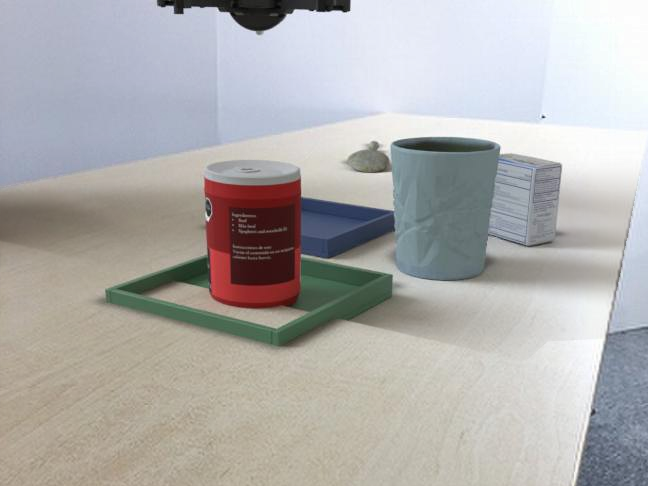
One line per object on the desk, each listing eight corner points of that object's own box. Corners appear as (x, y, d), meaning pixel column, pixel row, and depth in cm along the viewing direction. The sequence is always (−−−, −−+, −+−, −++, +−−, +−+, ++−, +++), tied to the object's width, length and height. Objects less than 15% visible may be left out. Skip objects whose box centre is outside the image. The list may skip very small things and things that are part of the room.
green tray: (106, 312, 70) (104, 289, 69) (237, 263, 83) (236, 244, 83) (278, 358, 61) (278, 332, 61) (392, 296, 75) (393, 274, 74)
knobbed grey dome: (344, 175, 131) (387, 179, 131) (346, 153, 130) (389, 157, 129) (356, 148, 151) (393, 151, 151) (357, 129, 150) (394, 132, 149)
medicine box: (555, 242, 93) (565, 162, 90) (527, 247, 91) (535, 166, 88) (504, 227, 100) (511, 152, 96) (476, 231, 97) (482, 155, 94)
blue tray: (210, 236, 93) (209, 218, 92) (289, 210, 105) (289, 194, 104) (327, 258, 86) (328, 239, 85) (398, 228, 98) (399, 211, 97)
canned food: (248, 278, 77) (246, 156, 73) (319, 296, 73) (321, 167, 69) (188, 300, 71) (182, 168, 67) (261, 320, 67) (259, 180, 63)
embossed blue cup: (504, 281, 80) (516, 151, 75) (398, 284, 78) (405, 152, 74) (470, 252, 89) (479, 135, 85) (376, 254, 87) (380, 135, 83)
